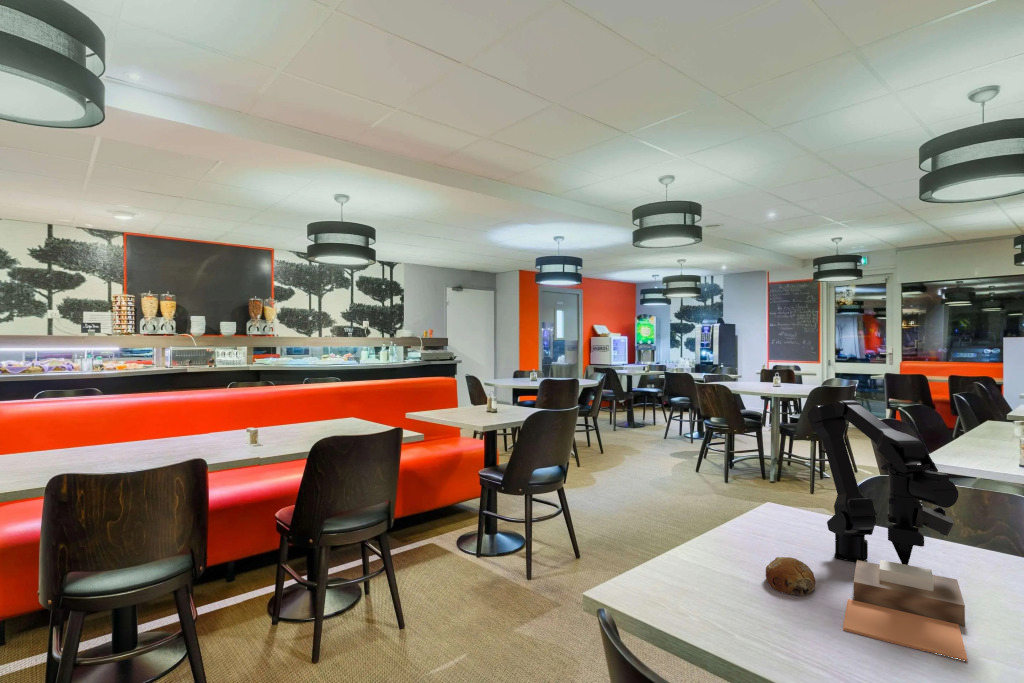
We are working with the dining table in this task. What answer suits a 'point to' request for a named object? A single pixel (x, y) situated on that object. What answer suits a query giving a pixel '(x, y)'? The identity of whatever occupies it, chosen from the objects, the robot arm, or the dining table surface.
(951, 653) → the mat
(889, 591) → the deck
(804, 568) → the bread roll
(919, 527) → the robot arm
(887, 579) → the white rectangular block
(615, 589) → the dining table surface
